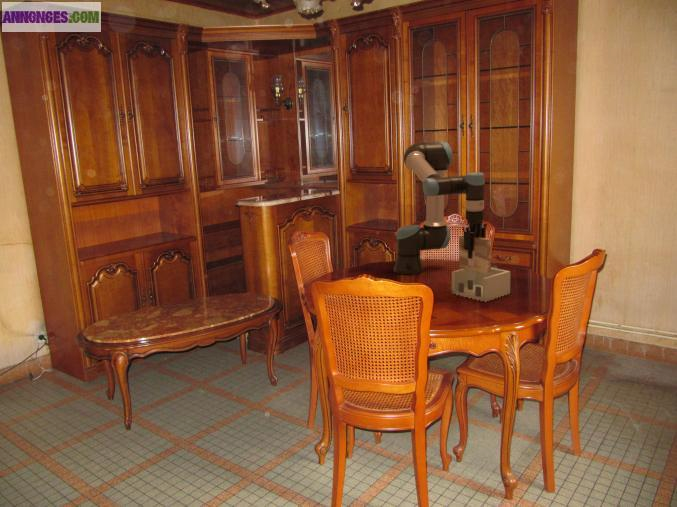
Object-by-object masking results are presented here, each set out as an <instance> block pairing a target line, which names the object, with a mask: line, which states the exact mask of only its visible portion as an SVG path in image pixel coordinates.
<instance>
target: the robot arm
mask: <svg viewBox="0 0 677 507" xmlns="http://www.w3.org/2000/svg"><path fill="white" fill-rule="evenodd" d="M452 150H453V149H452V147H451V145H450V144H449V143H448V142H446V141H427V142H416V143H413V144H411V145H410V146H408V147H407V149H406V150H405V151H404V152H403V153H404V154H403V163H404V165H405V167H406V168H407V169H409V170H411V171H413V173H414V174H415V176H417V177H418V179H419V180H420V181H421V183H422V191H423V193H424V194H423V195H425V196H426V210H425V211H426V216H425V220H424V222H423V223H422V227H421V226H420V225H419V224H409V225H404V226H401V227H399V228H398V229H397V230H396V238H395V239H396V253H397V254H396V260H395V264H394V266H393V273H395V272H396V273H395V274H397V273H401V274H400V275H403V274H414V275H419V274H418V273H420V274H422V273H424V271H425V267H424V265H423V261H422V258H421V251H429V250H430V251H431V250H442V249H446V248H447V247H448V246H449V244H450V241H451V232H450V231H451V230H450V227H449V226H448V225H447V222H446V221H445V219H444V215H445V214H444V210H445V209H444V208H445V204H444V203H445V196H447V195H450V196H451V195H465V210H466V211H465V219H466V221H467V223H466V226H463V227H462V232H463V236H464V249H465V250H468V265H469V266H475V251H473V248H474V239H475V237H480V238H486V235H487V234H486V232H487V226H488V224H487V223H484V221H483V220H484V219H485V211H484V209H485V182H486V180H485V174H484V172H467V173H466V175H459V176H445V174H446V172H447V171H448V170H449V166H451V165H452V164H453V161H454V160H453V158H454V156H453V151H452Z"/></svg>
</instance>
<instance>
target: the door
mask: <svg viewBox="0 0 677 507" xmlns="http://www.w3.org/2000/svg"><path fill="white" fill-rule="evenodd" d="M473 251H475V266H469V265H468V250H465V249H464V235H460V236H458V269H459V270H460V269H465V270H471V271H476V272H481V273H489V272H491V267H492V238H487V237H485V238H480V237H475V239H474V248H473Z"/></svg>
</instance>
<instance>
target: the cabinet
mask: <svg viewBox="0 0 677 507" xmlns="http://www.w3.org/2000/svg"><path fill="white" fill-rule="evenodd" d="M451 294H452V295H454V294H456V296H458V295H460V296H459V297H462V296H463V298H466V297H468V298H467V299H471V298H472V299H471V300H475V299H476V300H475V301H479V300H480V301H479V302H483V301H484V303H487V301H488V302H490V300H491V301H493V300H496V299H499V298H501V296H502V297H504V295H505V296H508V295H510V294H511V271H510V270H505V269H500V268H498V269H496V268H491V272H489V273H481V272H476V271H471V270H465V269H460V268H459V269H457V270H453V271H451ZM507 294H508V295H507ZM498 297H499V298H498ZM495 298H496V299H495Z"/></svg>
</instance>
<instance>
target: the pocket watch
mask: <svg viewBox="0 0 677 507" xmlns="http://www.w3.org/2000/svg"><path fill="white" fill-rule="evenodd" d="M491 264H493V265H491V268H496V269H499V268H498V266H497V265H496V261H494V260H491Z"/></svg>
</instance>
